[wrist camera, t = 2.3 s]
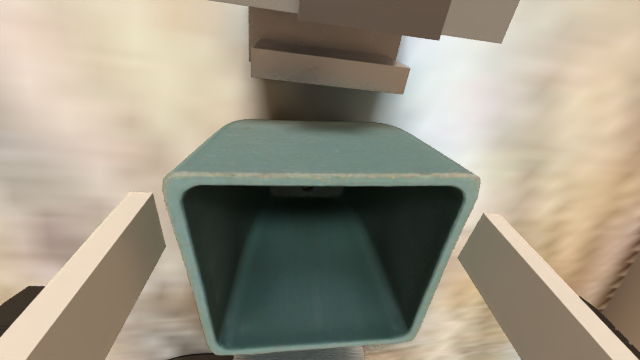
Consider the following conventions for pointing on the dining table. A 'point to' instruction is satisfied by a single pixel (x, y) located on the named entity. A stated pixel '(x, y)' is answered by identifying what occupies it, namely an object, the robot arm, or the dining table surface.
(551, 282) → the robot arm
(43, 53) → the dining table surface
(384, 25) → the holder
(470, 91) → the dining table surface
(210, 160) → the flower pot
